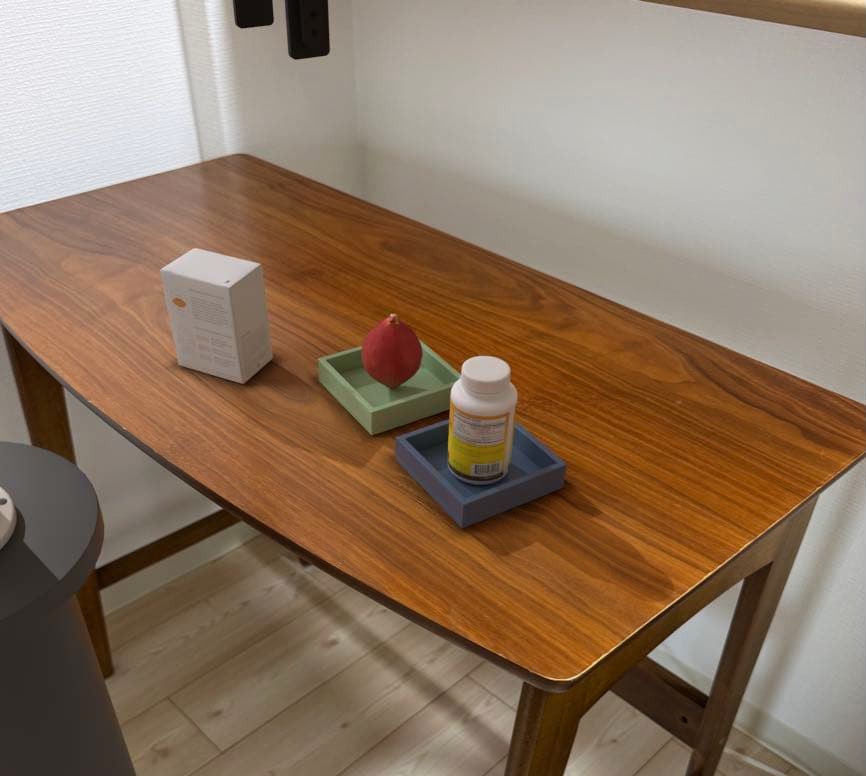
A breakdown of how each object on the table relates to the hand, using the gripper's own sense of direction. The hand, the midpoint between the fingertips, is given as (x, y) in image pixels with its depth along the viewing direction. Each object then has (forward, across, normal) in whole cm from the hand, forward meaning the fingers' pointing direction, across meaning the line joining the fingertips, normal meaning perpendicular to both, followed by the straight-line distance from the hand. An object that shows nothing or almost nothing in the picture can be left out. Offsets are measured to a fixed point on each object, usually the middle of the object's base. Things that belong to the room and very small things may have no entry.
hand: (281, 40), depth 70 cm
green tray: (+30, +7, +6) cm, 32 cm away
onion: (+30, +7, +6) cm, 31 cm away
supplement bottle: (+30, +22, +6) cm, 38 cm away
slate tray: (+30, +22, +6) cm, 38 cm away
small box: (+31, -6, -6) cm, 32 cm away
